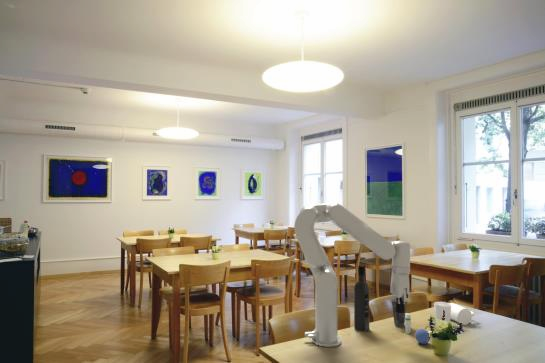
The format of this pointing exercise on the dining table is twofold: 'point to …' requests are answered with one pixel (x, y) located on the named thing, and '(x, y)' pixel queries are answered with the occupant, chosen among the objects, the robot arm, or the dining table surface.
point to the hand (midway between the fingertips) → (399, 312)
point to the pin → (407, 323)
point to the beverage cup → (398, 314)
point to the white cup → (439, 310)
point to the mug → (461, 314)
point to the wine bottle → (361, 302)
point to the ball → (422, 336)
